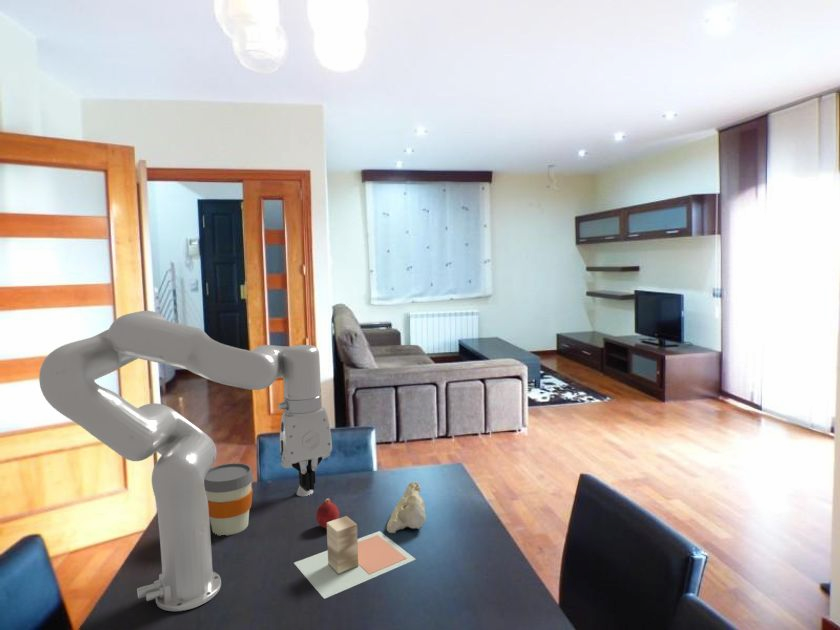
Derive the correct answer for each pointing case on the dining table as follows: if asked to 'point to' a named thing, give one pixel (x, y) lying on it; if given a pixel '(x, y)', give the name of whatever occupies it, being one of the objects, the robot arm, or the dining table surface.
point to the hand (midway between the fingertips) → (307, 488)
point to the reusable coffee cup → (229, 497)
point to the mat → (372, 561)
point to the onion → (327, 513)
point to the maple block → (342, 545)
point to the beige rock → (408, 510)
